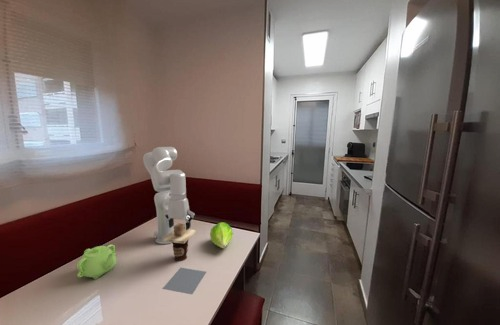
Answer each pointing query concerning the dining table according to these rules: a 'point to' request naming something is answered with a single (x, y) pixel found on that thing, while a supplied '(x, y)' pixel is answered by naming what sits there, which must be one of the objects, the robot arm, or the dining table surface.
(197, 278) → the mat
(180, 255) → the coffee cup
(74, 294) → the dining table surface
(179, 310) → the dining table surface
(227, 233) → the lettuce
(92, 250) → the teapot
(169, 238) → the lid
